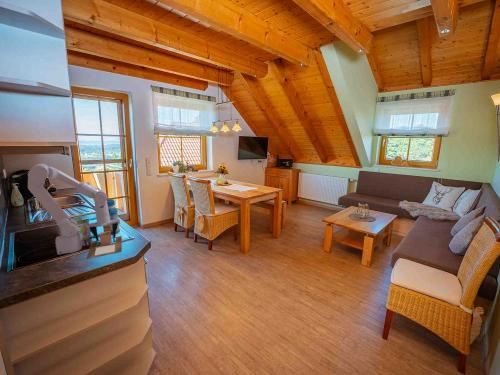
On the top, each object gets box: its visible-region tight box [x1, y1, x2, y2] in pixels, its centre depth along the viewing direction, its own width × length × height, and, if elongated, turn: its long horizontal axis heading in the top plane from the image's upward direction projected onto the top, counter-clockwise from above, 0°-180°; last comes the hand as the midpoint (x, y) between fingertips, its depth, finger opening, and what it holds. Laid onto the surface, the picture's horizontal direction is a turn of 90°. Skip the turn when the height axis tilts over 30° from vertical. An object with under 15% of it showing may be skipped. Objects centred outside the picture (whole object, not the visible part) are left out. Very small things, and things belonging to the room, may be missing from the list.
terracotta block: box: [99, 231, 113, 246], centre depth 124 cm, size 4×6×6 cm
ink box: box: [71, 214, 92, 242], centre depth 129 cm, size 7×4×13 cm, turn 168°
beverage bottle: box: [102, 198, 121, 236], centre depth 137 cm, size 8×8×20 cm
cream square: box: [94, 244, 115, 256], centre depth 115 cm, size 8×9×1 cm
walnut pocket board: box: [86, 235, 123, 260], centre depth 120 cm, size 14×22×1 cm, turn 28°
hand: (106, 238), depth 124 cm, fingers open, 7 cm apart
